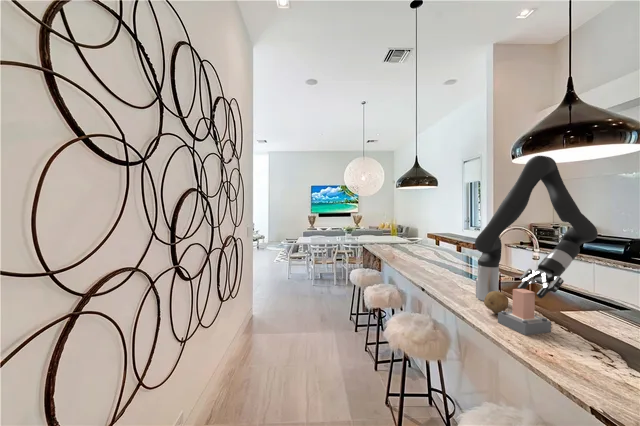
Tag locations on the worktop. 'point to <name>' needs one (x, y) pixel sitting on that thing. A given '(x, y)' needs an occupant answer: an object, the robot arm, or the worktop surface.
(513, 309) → the coral brick
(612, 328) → the worktop surface
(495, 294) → the brown round lump
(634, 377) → the worktop surface
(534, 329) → the base brick
